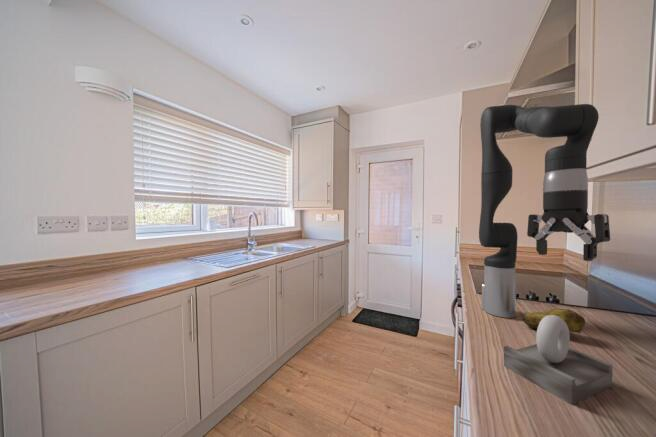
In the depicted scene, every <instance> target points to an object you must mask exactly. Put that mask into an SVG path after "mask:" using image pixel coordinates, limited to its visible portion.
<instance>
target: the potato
mask: <svg viewBox="0 0 656 437" xmlns="http://www.w3.org/2000/svg"><path fill="white" fill-rule="evenodd" d="M548 315H555V316H558V317H560V318H561V319H563V320H564V321H565V322H566V324H567V326H568V329H569V333H577V334H581V333H582V329H583V327H584V326H585V324H586V320H585V318H584V316H582V315H581V314H580V313H577V311H574V310H572V309H570V308H552V309H549V310H546V311H544V312H539V311H538V312H530V313H526V314H524V316H523V323H524V324H525V325H526V326H528V327H530V328H532V329H536V330H537V328H538V325H539V323H540V321H541V320H542V318H544V317H545V316H548Z"/></svg>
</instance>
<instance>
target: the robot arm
mask: <svg viewBox="0 0 656 437" xmlns="http://www.w3.org/2000/svg"><path fill="white" fill-rule="evenodd" d="M599 116H600V115H599V112H598V110H597V108H596V107H595V106H594V105H592V104H589V103H581V104H580V103H579V104H568V105H559V106H533V107H527V108H526V107H523V106H521V105H516V104H515V105H514V104H503V105H494V106H489V107H486V108H485V109H483V111H482V114H481V118H480V140H481V173H480V175H481V181H480V184H481V185H480V186H481V189H480V191H481V196H480V197H481V200H480V201H481V203H480V204H481V206H480V215H479V216H480V217H479V225H478V226H479V228H478V239H479V240H478V241H479V243H480V245H481V246H482V247H483V248H492V249H493V248H497V249H498V248H499V250H498V251H497V252H496V253H494V254H491V255H488V256H486V257H484V259H483V265H484V266H483V271H484V272H483V275H484V276H483V277H484V278H483V279H484V283H482V284H481V309H482V310H483V311H484V312H485V313H487V314H489V315H492V316H494V317H495V316H496V317H498V318H499V317H500V318H505V319H507V318H509V319H512V318H516V315H517V314H516V312H517V310H516V302H517V301H516V261H517V256H518V255H517V253H518V252H517V250H518V249H517V248H518V230H517V227H516V225H514V224H513V223H512V222H494V217H495V213H496V211H497V209H498V207H499V205H500V204H501V203H502V201H503V200H504V199H505V198H506V196H507V195H508V194H509V192H510V191H511V190H512V187H513V166H512V164H511V162H510V160H509V159H508V158H507V157H506V155H505V154H504V153H503V151H502V150H501V148H500V146H499V145H498V142H497V138H496V134H501V133H502V134H503V133H508V132H511V131H516V130H517V131H519V132H522V133H525V134H532V135H535V136H536V137H539V138H543V139H544V138H547V139H548V138H549V139H550V138H551V139H552V138H566V141H565V143H564V144H563V145H558V146H555V147H552V148H549V149H547V151H546V152H545V154H544V177H543V181H542V183H543V184H542V210H543V213H542V214H541V215H540V214H536V213H535V214H529V215H528V219H527V220H528V222H527V230H526V231H527V232H526V236H527V237H528V238H533V239H535V241H536V242H535V244H536V245H535V248H536V252H537V253H538V255H542V256H546V255H548V240H547V238H548V237H549V236H550V235H551V234H553V233H566V234H567V233H568V234H570V233H574V234H575V235H576V236H578V237H579V238H580V239H581V240H582V242H583V246H582V247H583V248H582V249H583V261H585V262H586V261H587V262H592V261H593V260H594V259H596V258H597V257H598V244H600V243H607V242H610V241H611V230H610V219H609V218H610V217H609V215H608V214H606V213H597V214H593V215H592V214H589V212H588V207H589V206H588V205H589V202H588V200H589V198H588V197H589V196H588V195H589V192H588V191H589V189H588V188H589V177H588V173H587V172H588V171H587V166H588V164H587V153H588V149H589V146H590V144H591V141H592V138H593V136H594V132H595V131H596V128H597V125H598V123H599V122H598V121H599V118H600V117H599ZM542 221H543V223H544V225H543V226H542V227H541V228H540V223H541V222H542ZM589 221H590V222H591V224H593V225H594V232H595V235H594V234H593V233H592V231H591V230H590V229H589V228H588V227H587V226H586V224H587V223H588V222H589Z"/></svg>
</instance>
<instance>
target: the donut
mask: <svg viewBox="0 0 656 437" xmlns="http://www.w3.org/2000/svg"><path fill="white" fill-rule="evenodd" d="M535 335H536V336H535V337H536V338H535V339H536V340H535V342H536V344H537V347H538V351H539V353H540V354H541V356H542V357H543V358H544V359H545V360H547V361H549V362H551V363H559V362H562V361H563V360H564V359H565V358H566V356H567V354H568V350H569V348H570V340H571V339H570V338H571V336H570V332H569V329H568V326H567V324H566V322H565V321H564V320H563V319H561V318H560V317H558V316H555V315H548V316H545V317H544V318H542V320H541V321H540V323H539V325H538V328H537V329H536V334H535Z"/></svg>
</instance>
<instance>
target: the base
mask: <svg viewBox="0 0 656 437" xmlns="http://www.w3.org/2000/svg"><path fill="white" fill-rule="evenodd" d="M503 366H504V367H505V368H507V369H509V370H510V371H511V372H513V373H515V374H517V375H519V376H521V377H522V378H524V379H526V380H527V381H530V382H531V383H533V384H535V385H536V386H539V387H540V388H542V389H544V390H546V391H547V392H549V393H551V394H553V396H556V397H558V398H559V399H560V400H561V399H562V400H563V401H565V402H567V403H569V404H570V405H574V404H577V403H578V402H580V401H583V400H585V399H587V398H590V397H592V396H595V395H597V394H599V393H602V392H603V391H605V390H607V389H610V388H612V387H613V364H612V363H609V362H607V361H604V360H602V359H600V358H596V357H594V356H592V355H589V354H587V353H584V352H581V351H579V350H576V349H574V348H571V347H569V350H568V354H567V356H566V358H565V359H564V360H563V361H562V362H559V363H551V362H549V361H547V360H545V359H544V358H543V357H542V356H541V354H540V353H539V351H538V347H537V343H536V344H532V345H529V346H524V347H522V348H517V349H515V348H513V347H511V346H509V345H504V346H503Z"/></svg>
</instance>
